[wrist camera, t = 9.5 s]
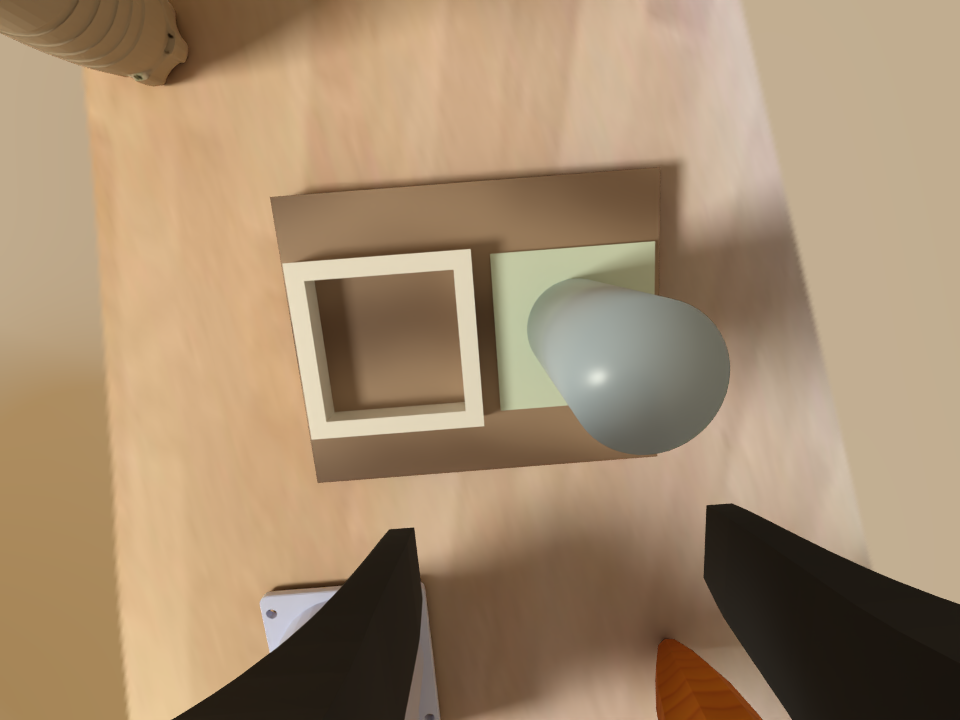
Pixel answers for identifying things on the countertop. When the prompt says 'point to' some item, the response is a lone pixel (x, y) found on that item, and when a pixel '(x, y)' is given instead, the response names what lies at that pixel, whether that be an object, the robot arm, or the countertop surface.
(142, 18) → the handle
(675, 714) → the carrot
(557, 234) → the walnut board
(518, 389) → the pad
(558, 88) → the countertop surface
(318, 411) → the cream square frame
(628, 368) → the grey-blue cylinder
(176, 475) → the countertop surface
